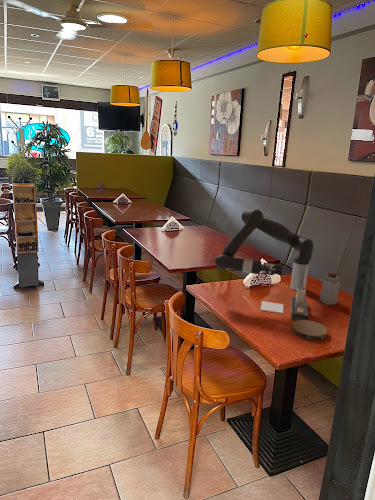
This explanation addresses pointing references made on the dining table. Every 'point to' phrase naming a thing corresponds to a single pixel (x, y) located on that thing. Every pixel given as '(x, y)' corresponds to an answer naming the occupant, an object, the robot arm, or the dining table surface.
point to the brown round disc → (309, 330)
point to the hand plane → (298, 310)
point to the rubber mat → (272, 307)
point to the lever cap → (300, 297)
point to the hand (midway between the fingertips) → (282, 270)
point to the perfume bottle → (330, 289)
